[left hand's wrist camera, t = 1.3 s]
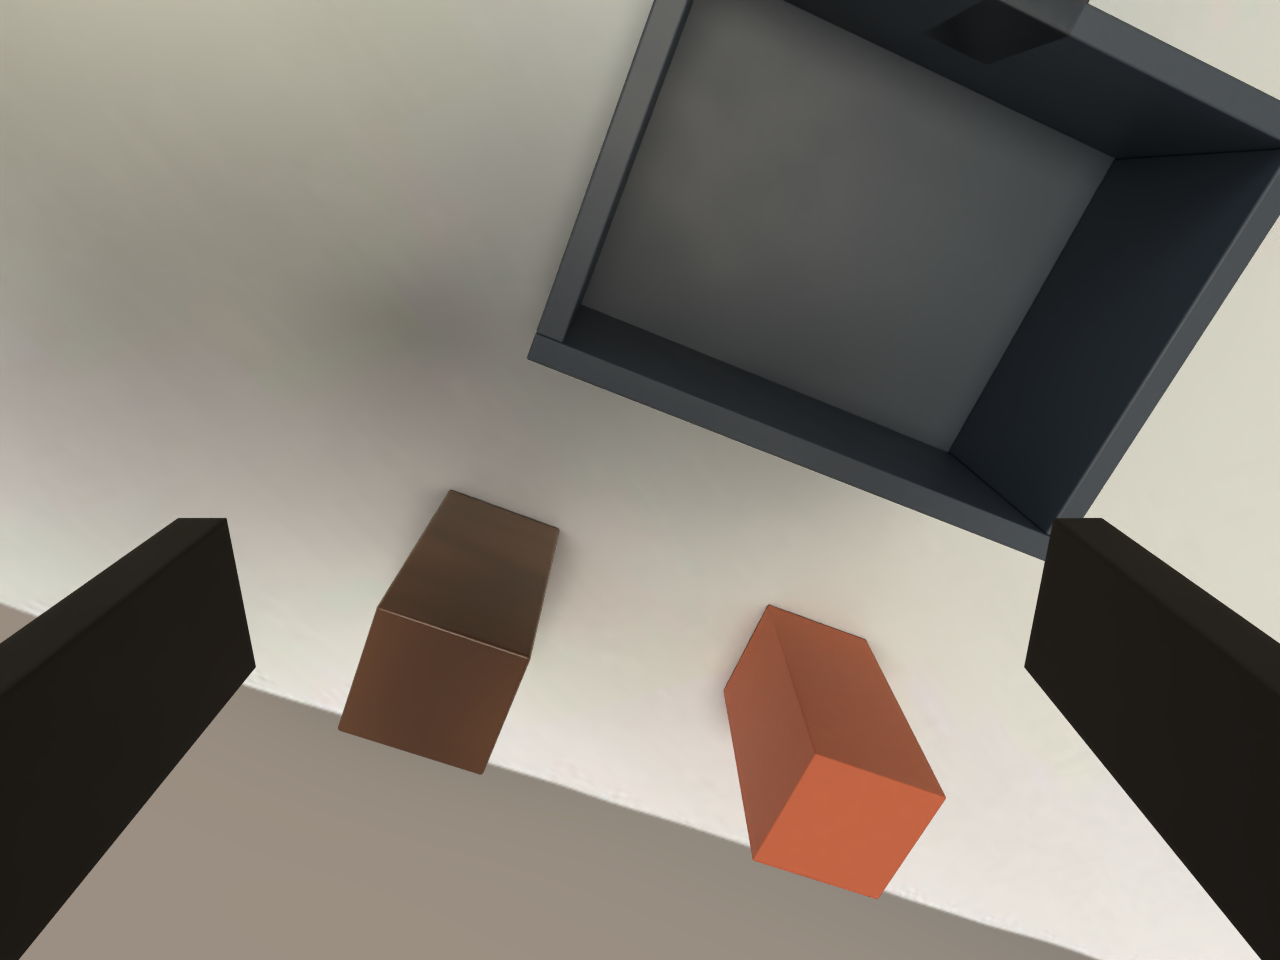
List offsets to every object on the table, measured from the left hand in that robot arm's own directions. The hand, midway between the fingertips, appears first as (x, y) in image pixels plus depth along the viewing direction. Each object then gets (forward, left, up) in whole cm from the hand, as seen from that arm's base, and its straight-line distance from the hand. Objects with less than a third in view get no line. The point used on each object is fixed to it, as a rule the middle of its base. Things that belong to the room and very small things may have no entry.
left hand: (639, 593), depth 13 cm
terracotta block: (+12, -11, -20) cm, 26 cm away
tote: (+5, +14, -20) cm, 25 cm away
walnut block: (-3, -11, -20) cm, 23 cm away
